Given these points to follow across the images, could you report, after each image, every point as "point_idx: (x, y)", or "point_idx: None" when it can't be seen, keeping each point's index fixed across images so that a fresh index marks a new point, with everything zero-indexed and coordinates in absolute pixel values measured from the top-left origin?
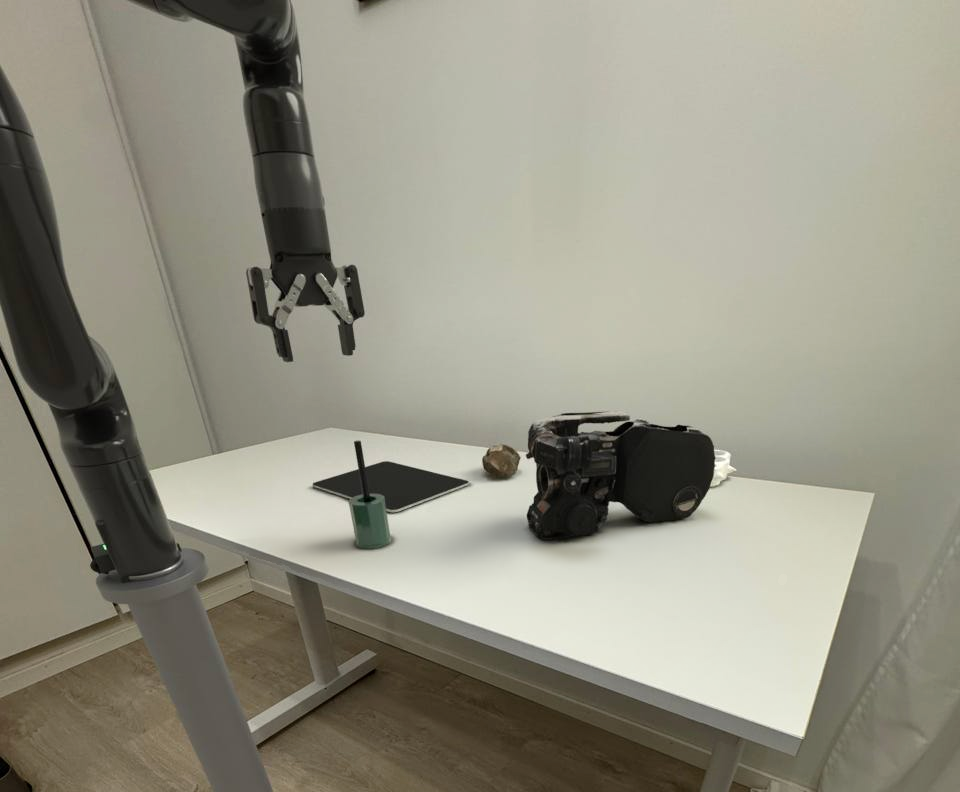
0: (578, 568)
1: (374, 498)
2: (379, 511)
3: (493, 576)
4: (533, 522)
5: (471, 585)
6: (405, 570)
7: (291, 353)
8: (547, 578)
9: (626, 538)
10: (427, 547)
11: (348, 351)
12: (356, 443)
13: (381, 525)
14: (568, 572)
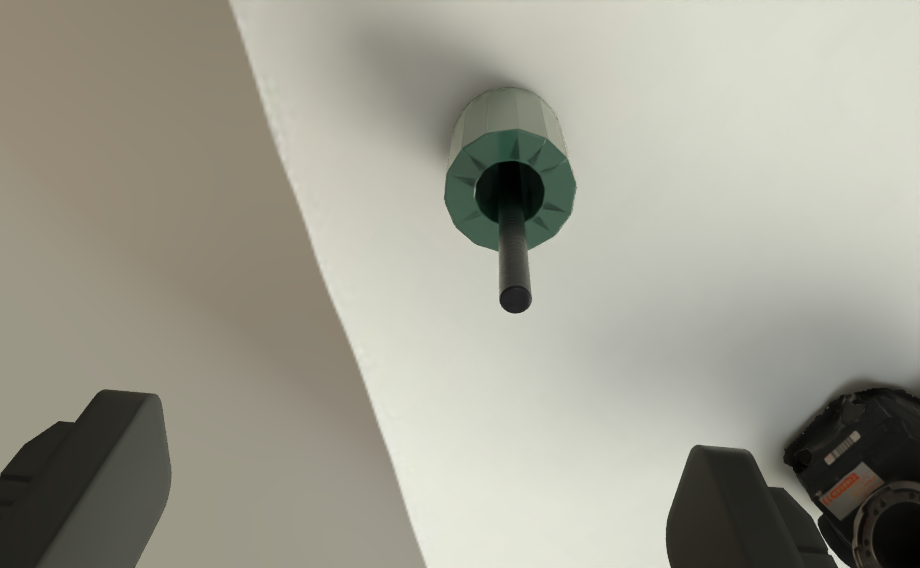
0: None
1: (543, 191)
2: None
3: (567, 482)
4: (836, 425)
5: (509, 478)
6: (457, 344)
7: (143, 538)
8: (626, 546)
9: None
10: (584, 285)
11: (670, 563)
12: (503, 305)
13: None
14: None
